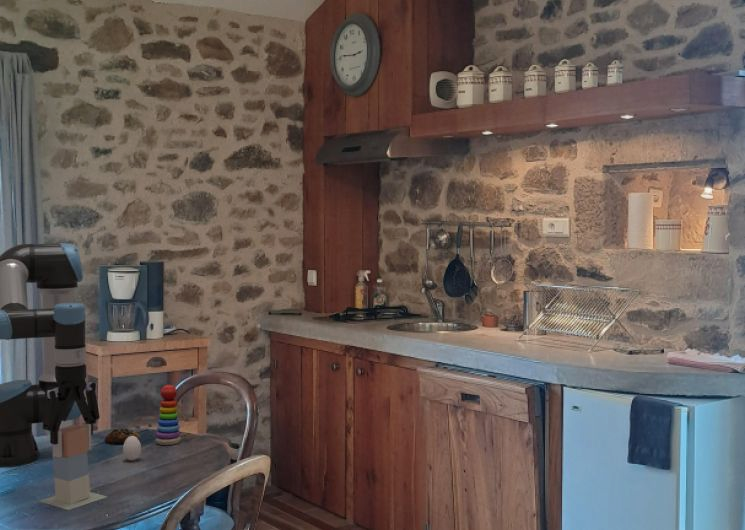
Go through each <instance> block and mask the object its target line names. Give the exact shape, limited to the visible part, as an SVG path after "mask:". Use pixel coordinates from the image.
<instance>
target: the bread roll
mask: <svg viewBox="0 0 745 530" xmlns="http://www.w3.org/2000/svg"><path fill="white" fill-rule="evenodd" d="M130 436H135V437H136V438H137V439H138V440H139V441H140V439H141V435H140V433H138V432H137V431H134V430H133V429H128V428H118V429H117V428H115V429H113V430H112V431H111V432H108V434H107V435H106V436H105V438H104V442H105V443H106V444H108V445H112V446H123V445H124V443H125V441H126V439H127V438H128V437H130Z"/></svg>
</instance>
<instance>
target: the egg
mask: <svg viewBox="0 0 745 530" xmlns="http://www.w3.org/2000/svg"><path fill="white" fill-rule="evenodd" d="M141 452H142V445H141V442H140V440H138V439H137V438H136V437H135V436H130V437H128V438H127V439H126V441H125V443H124V445H122V453H123V455H124V457H125V458H126V459H127V460H128V461H135V460H137V459H138V458H139V457H140V455H141Z"/></svg>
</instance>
